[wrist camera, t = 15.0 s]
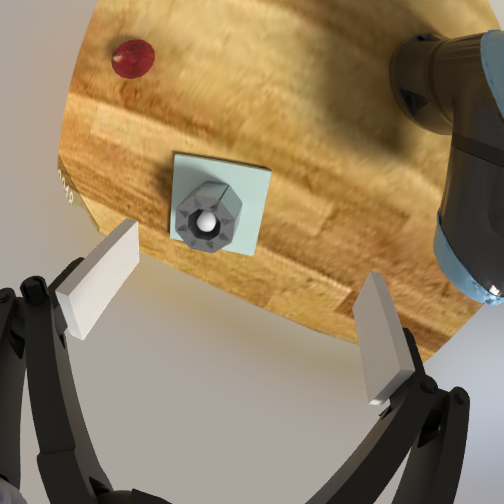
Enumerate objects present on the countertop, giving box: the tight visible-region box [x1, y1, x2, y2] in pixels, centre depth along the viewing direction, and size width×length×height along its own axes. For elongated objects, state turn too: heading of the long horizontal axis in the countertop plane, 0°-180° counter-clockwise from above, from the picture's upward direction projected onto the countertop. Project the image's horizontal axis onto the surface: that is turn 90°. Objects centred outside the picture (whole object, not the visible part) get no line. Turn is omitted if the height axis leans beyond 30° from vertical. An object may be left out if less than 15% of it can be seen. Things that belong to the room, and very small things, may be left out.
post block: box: [170, 153, 272, 256], centre depth 40 cm, size 14×14×6 cm
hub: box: [175, 181, 243, 253], centre depth 39 cm, size 8×8×6 cm
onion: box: [112, 40, 155, 79], centre depth 28 cm, size 6×6×8 cm
